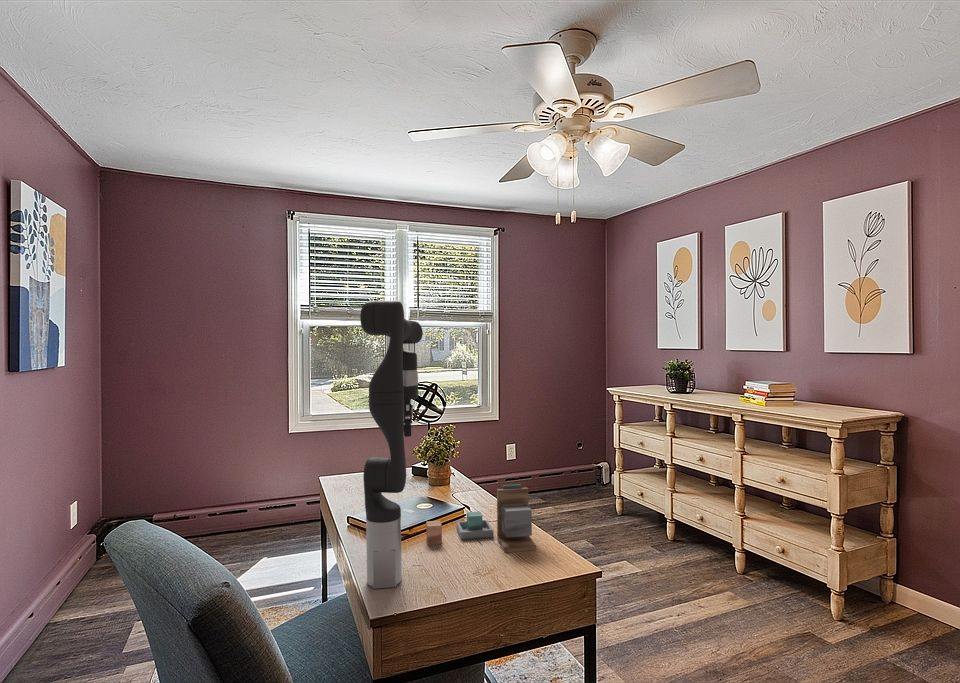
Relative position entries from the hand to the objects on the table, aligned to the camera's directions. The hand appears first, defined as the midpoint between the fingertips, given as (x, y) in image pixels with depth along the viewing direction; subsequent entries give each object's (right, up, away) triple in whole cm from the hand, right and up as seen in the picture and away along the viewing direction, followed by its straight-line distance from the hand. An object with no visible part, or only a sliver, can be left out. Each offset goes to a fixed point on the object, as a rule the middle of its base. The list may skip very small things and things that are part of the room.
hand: (406, 434), depth 184 cm
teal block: (+22, -33, +5) cm, 40 cm away
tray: (+22, -34, +5) cm, 41 cm away
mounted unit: (+35, -34, -5) cm, 49 cm away
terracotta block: (+9, -34, -2) cm, 35 cm away
